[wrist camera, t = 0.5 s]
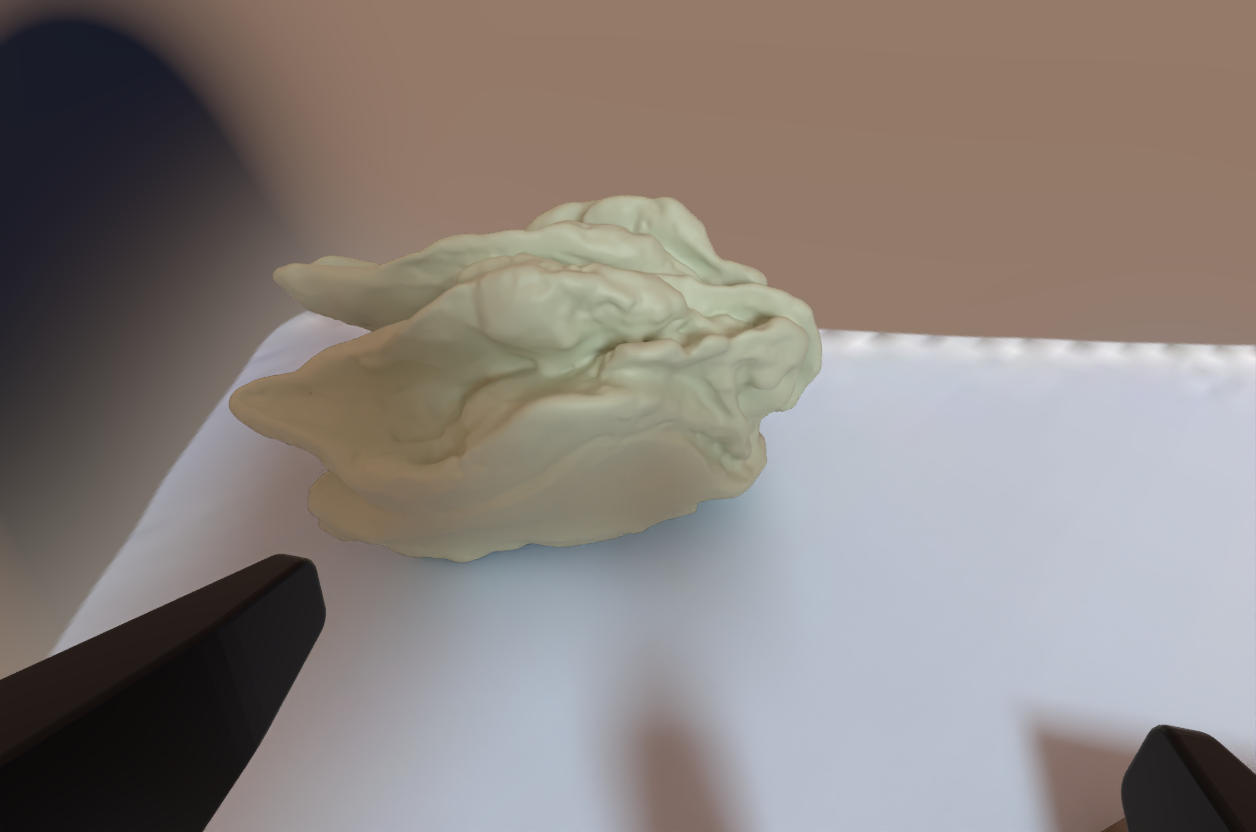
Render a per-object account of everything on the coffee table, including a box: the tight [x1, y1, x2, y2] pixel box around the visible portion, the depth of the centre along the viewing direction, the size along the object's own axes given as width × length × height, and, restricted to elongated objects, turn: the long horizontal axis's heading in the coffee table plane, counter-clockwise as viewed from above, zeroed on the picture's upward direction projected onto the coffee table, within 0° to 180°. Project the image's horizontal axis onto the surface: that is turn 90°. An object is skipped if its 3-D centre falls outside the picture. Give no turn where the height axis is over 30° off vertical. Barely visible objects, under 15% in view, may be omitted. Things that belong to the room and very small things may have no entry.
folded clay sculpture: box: [229, 195, 822, 563], centre depth 26 cm, size 18×13×16 cm
